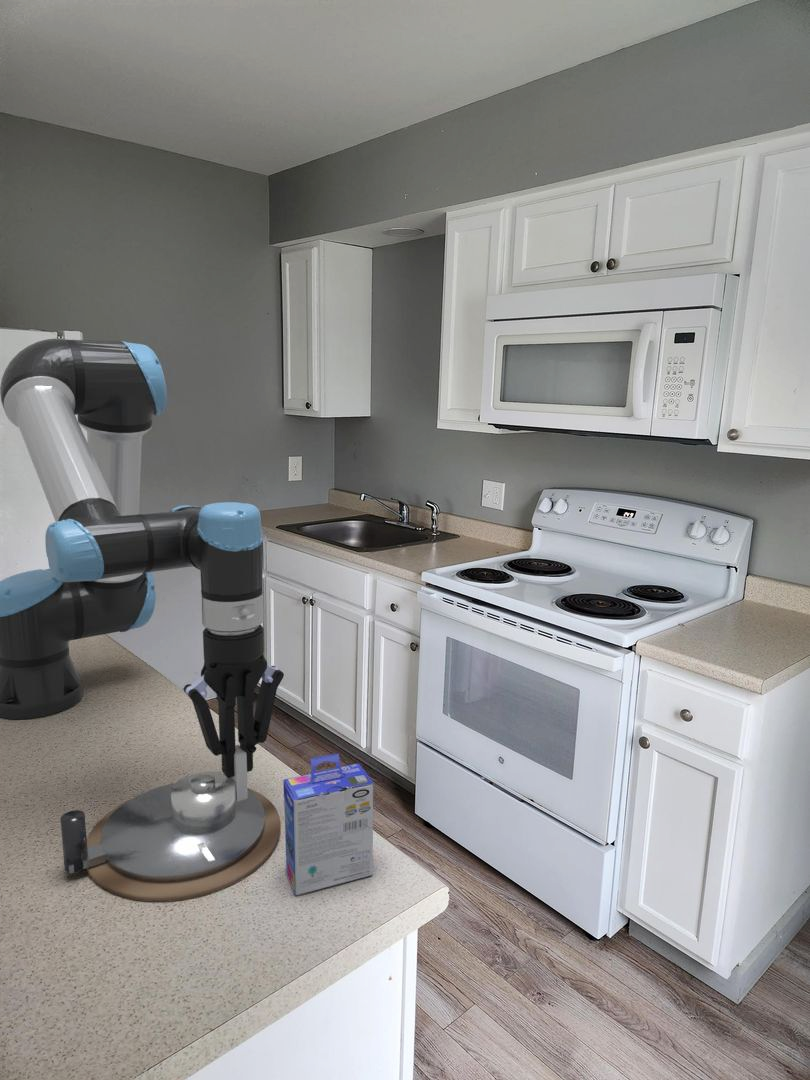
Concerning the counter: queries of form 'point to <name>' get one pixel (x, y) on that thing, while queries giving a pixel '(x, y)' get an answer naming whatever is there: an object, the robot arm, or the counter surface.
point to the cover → (203, 802)
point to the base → (193, 887)
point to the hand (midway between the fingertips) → (238, 795)
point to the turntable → (160, 840)
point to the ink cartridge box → (328, 826)
